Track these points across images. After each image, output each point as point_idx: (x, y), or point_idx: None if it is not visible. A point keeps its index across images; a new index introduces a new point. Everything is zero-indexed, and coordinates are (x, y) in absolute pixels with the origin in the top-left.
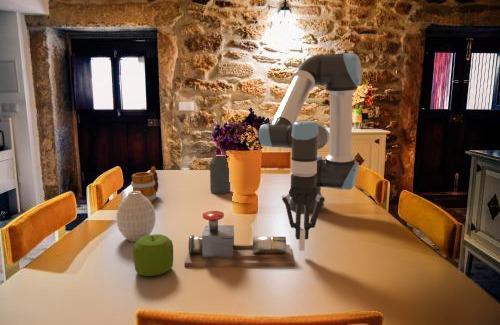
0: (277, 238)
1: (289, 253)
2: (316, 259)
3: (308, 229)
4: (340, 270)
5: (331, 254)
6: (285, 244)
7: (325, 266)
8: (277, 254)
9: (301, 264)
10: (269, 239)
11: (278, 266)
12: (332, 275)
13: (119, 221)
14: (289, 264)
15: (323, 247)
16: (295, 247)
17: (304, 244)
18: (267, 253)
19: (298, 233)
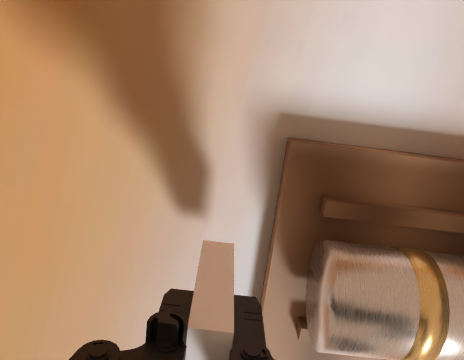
0: (398, 318)
1: (285, 258)
2: (140, 206)
3: (156, 320)
4: (35, 59)
5: (42, 253)
6: (340, 261)
7: (110, 118)
8: None
9: (239, 158)
10: (458, 313)
11: (374, 149)
12: (97, 3)
13: None
14: (316, 143)
15: (67, 335)
16: None
17: (201, 260)
18: None
19: (243, 325)
